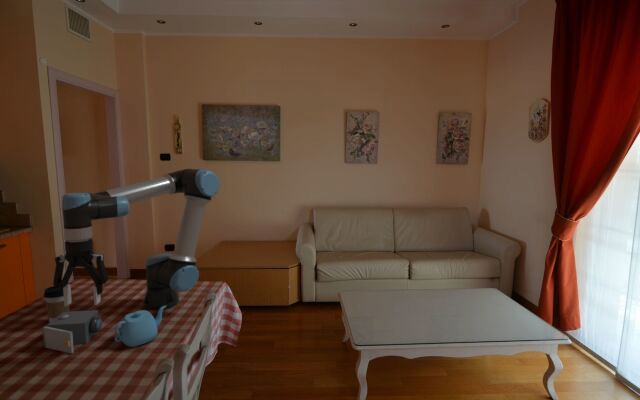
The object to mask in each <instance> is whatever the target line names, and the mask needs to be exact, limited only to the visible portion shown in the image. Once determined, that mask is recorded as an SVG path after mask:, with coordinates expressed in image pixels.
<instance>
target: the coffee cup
mask: <svg viewBox="0 0 640 400" xmlns="http://www.w3.org/2000/svg"><path fill="white" fill-rule="evenodd" d="M43 298H44V301H45V302H44V303H45V307H46V312H47V316H48V322H49V323H50V322H51V321H53V320H54V319H55V318H56V317H58V316H59V315H60V314H62V313H63V312H70V304H69V305H68V306H64V296H61V289H60V286H57V285H56V286H54V285H53V286H49V287H46V288H45V289H44V293H43Z"/></svg>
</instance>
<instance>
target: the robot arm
mask: <svg viewBox="0 0 640 400" xmlns="http://www.w3.org/2000/svg"><path fill="white" fill-rule="evenodd" d="M220 185H221V184H220V180H219V178H218V176H217V175H216V173H214V172H213V171H212V170H208V169H204V168H203V169H202V168H201V169H200V168H199V169H195V168H185V169H179V170H176V171H172V172H169V173H165V174H163V175H162V176H161V177H158V178H153V179H149V180H146V181H141V182H137V183H132V184H128V185H124V186H120V187H115V188H112V189H108V190H103V191H99V192H98V191H97V192H94V193H93V192H69V193H65V194H63V196H61V197H62V198H61V210H62V219H63V221H62V222H63V235H64V236H63V238H64V239H63V240H65V242H64V251H65V254H64V255H61V254H60V255H58V256H56V257H55V258H54V262H55V269H54V277H53V282H52V285H53V286H56V285H57V286H60V289H61V296H64V306H68V305H69V306H70V305H71V304H72V292H71V291H72V290H71V284H69V281H70V279H71V276H72V275H73V272H74V270H75V268H77V267H78V268H79V267H80V268H84V270H85V271H86V272H87V273H88V275H89V276H90V277H91V279H92V281H93V283H94V284H95V285H93V286H92V287H93V302H94V303H93V304H94V305H95V306H97V305H99V303H100V302H101V294H102V293H103V292H104V290H103V285H104V284H106V283H107V282H108V281H109V276H108V273H107V269H106V266H105V262H104V260H105V254H103V253H102V254H95V253H94V242H93V241H94V240H93V238H92V237H93V227H92V225H93V223H92V222H93V221H97V220H103V219H113V218H121V217H126V216H127V215H129V213H130V210H131V208H130V205H132V204H134V203H137V202H141V201H145V200H149V199H152V198H155V197H160V196H164V195H166V194H168V195H169V196H170V195H175V194H183V197H184V198H185V204H184V209H183V214H182V219H181V221H180V226H179V229H178V233H177V238H176V243H175V246H174V250H173V253H161V254H155V255H152V256H149V257H147V258H146V260H145V276H146V291H145V294H144V298H143V301H142V308H143V309H144V310H146V311H152V312H153V311H155V312H156V311H159V309H160V308H161V307H163V306H165V305H167V306H166V307H165V308H164V309H163V311H164V310H168V309H170V308H174V307H175V306H177V305H178V304H179V303H180V295H179V293H178V292H183V293H184V292H187V291H189V290H191V288H193V287H195V285H196V284H197V282H198V280H199V277H200V273H199V272H200V271H199V270H198V268H197V259H196V257H195V254H196V250H197V245H198V241H199V237H200V233H201V229H202V223H203V219H204V215H205V211H206V207H207V204H209V203H211V202H212V201H211V200H212V197H214V196H215V195H216V194H218V192H219V190H220ZM92 260H94V262H95V263H96V264H95V265H96V267H95V265H94V263H93V261H92ZM66 261H67V263H68V264H67V267H66V270H65V272H64V268H65V262H66ZM63 272H64V273H63Z"/></svg>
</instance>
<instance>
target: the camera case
mask: <svg viewBox="0 0 640 400" xmlns="http://www.w3.org/2000/svg"><path fill="white" fill-rule="evenodd" d="M99 315H100V314H99V309H97V310H94V309H93V310H77V311H74V310H73V311H69V312H63V313H62V314H60V315H59V316H58V317H56V318H55V319H54V320H53V321H51V322H49V323H48V324H46V327H51V328H56V329H61V330H66V331H71V332H72V334H73V346H75V345H85V344H88V343H89V341H90V340H91V339H92V338H93V337H94V336H95V335H96V334H98V333H99V332H100V331H101V329H102V326H103V321H102V320H103V319H102V317H101V316H99Z"/></svg>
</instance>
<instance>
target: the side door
mask: <svg viewBox="0 0 640 400" xmlns="http://www.w3.org/2000/svg"><path fill="white" fill-rule="evenodd" d="M42 335H43V347H44V349H50V350H54V351H60V352H64V353H68V354H73V353H74V351H75V349H74V345H73V334H72V332H71V331H66V330H61V329H56V328H51V327H47V325H45V326H42Z"/></svg>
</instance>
